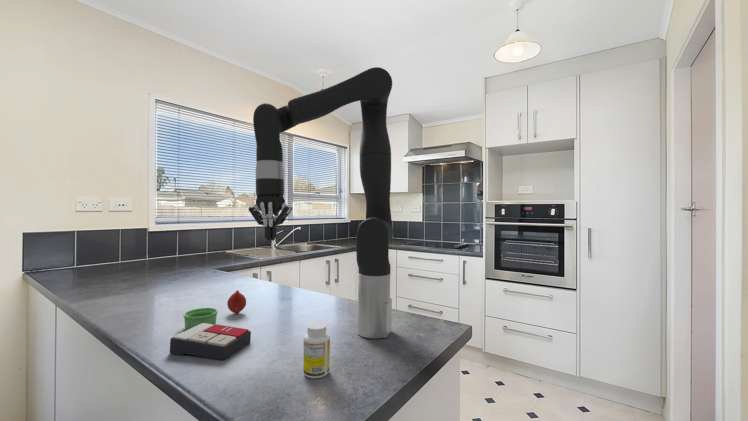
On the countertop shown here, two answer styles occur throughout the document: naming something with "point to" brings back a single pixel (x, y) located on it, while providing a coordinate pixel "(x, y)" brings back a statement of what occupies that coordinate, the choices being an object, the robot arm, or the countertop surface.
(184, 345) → the calculator
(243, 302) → the onion
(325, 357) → the supplement bottle
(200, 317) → the ramekin
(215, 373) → the countertop surface
